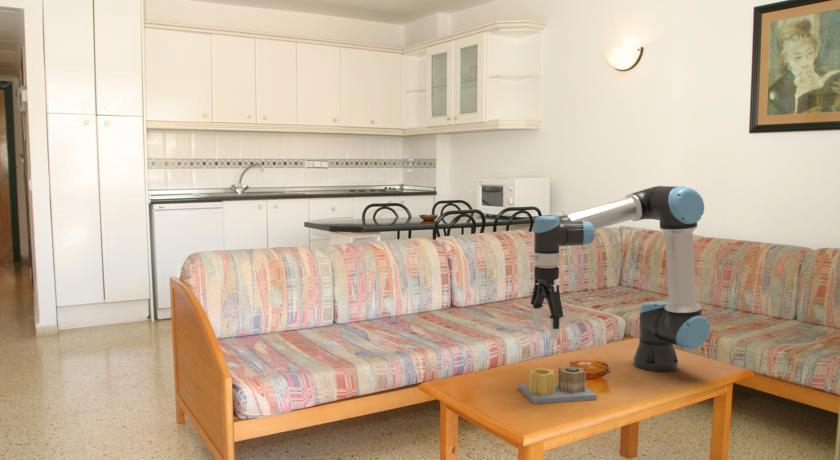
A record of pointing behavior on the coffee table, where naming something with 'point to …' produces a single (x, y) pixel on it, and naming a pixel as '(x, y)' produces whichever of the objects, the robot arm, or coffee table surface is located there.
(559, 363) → the coffee table surface
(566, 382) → the gear
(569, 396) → the gear board
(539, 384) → the ochre gear
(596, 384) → the coffee table surface
